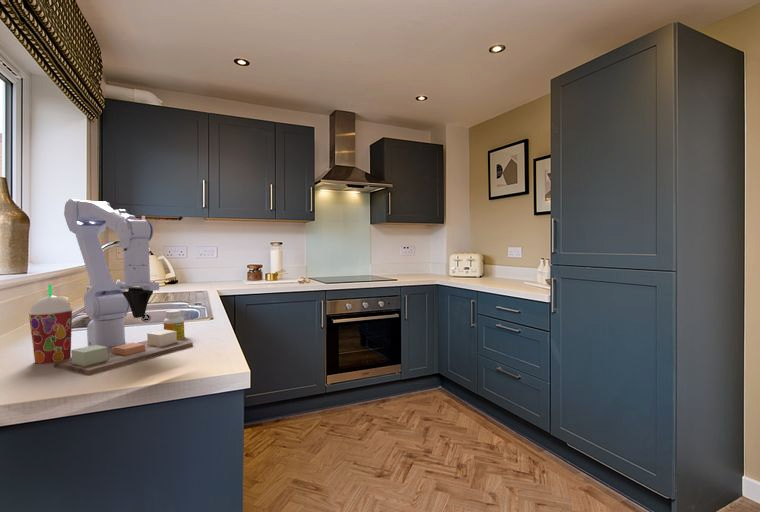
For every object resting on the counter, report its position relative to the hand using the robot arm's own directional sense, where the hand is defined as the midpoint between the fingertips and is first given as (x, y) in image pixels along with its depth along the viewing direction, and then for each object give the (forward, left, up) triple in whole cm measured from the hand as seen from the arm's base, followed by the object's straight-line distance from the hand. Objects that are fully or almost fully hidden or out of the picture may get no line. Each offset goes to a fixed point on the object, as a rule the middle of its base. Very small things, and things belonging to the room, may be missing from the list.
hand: (139, 317), depth 105 cm
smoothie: (-12, -14, -11) cm, 21 cm away
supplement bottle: (-4, +13, -11) cm, 17 cm away
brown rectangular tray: (+2, -4, -10) cm, 11 cm away
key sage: (+2, -13, -9) cm, 16 cm away
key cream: (+2, +5, -9) cm, 10 cm away
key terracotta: (+2, -4, -10) cm, 11 cm away
